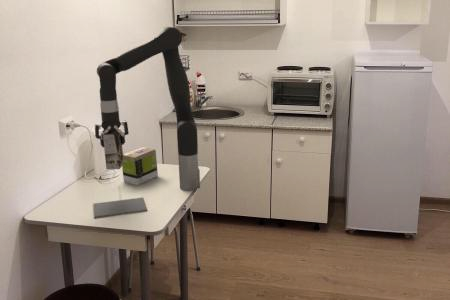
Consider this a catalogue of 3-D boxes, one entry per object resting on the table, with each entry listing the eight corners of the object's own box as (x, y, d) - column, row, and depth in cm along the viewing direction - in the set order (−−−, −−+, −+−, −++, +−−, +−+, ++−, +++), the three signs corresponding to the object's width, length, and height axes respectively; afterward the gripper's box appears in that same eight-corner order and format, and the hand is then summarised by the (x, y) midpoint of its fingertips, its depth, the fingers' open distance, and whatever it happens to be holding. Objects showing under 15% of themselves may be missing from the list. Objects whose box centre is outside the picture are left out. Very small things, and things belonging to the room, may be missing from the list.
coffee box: (120, 169, 214) (117, 134, 209) (105, 169, 214) (102, 134, 209) (124, 162, 223) (121, 128, 218) (110, 163, 223) (106, 129, 218)
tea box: (144, 173, 254) (142, 146, 250) (158, 176, 248) (156, 149, 244) (122, 181, 242) (120, 153, 238) (137, 185, 237) (134, 157, 232)
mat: (143, 198, 221) (143, 197, 221) (147, 211, 208) (147, 209, 208) (93, 205, 215) (93, 203, 215) (94, 218, 202) (94, 216, 202)
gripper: (123, 106, 217) (126, 141, 221) (91, 110, 211) (95, 145, 216) (128, 109, 210) (131, 145, 215) (94, 113, 204) (98, 150, 209)
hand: (113, 145), depth 215 cm, fingers closed on coffee box, 8 cm apart
